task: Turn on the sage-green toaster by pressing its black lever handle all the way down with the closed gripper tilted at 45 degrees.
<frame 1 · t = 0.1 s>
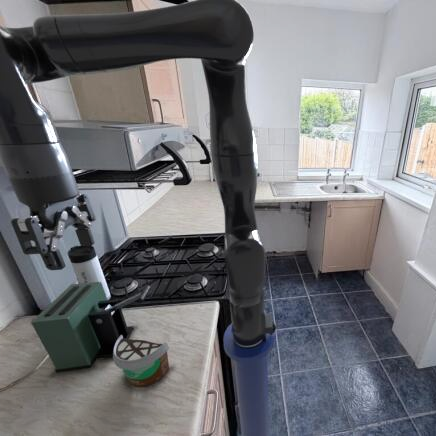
hand: (74, 256, 44), 33 cm above the table, tool pointing down, fingers open, 8 cm apart
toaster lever: (123, 303, 60), point 13 cm above the table, hinge at 25.0°
food container: (143, 379, 55), on the table
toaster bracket: (116, 342, 64), on the table
travel mug: (99, 300, 79), on the table
toaster body: (90, 346, 63), on the table
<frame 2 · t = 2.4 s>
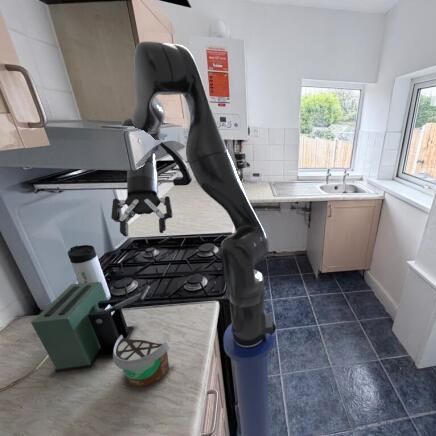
hand: (143, 234, 64), 28 cm above the table, tool tilted 40°, fingers open, 8 cm apart
nothing on the table moved.
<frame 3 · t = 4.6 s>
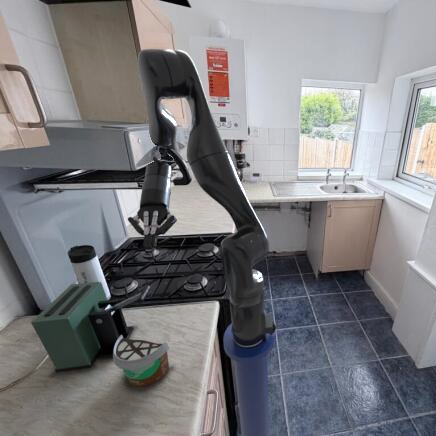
hand: (149, 248, 64), 24 cm above the table, tool tilted 45°, fingers closed
nothing on the table moved.
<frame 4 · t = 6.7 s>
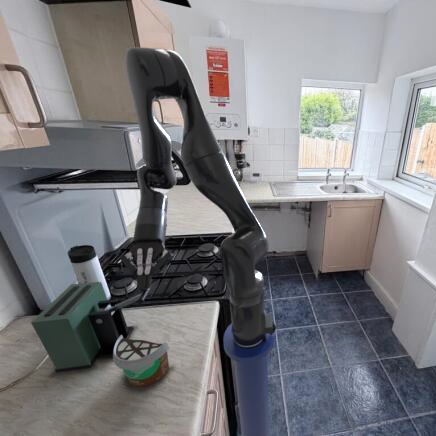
hand: (143, 290, 59), 17 cm above the table, tool tilted 45°, fingers closed
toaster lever: (123, 303, 60), point 13 cm above the table, hinge at 23.8°, touching gripper
everything else where it was.
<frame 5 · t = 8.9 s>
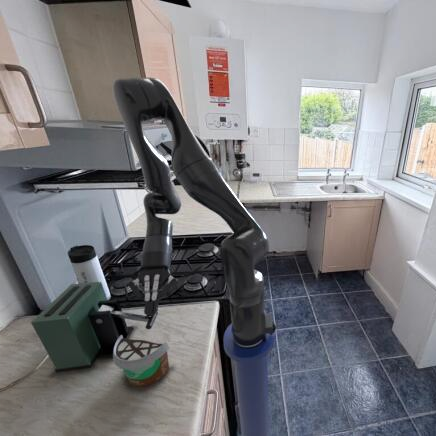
hand: (150, 315, 63), 8 cm above the table, tool tilted 45°, fingers closed
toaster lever: (127, 315, 61), point 9 cm above the table, hinge at -22.6°, touching gripper
everything else where it was.
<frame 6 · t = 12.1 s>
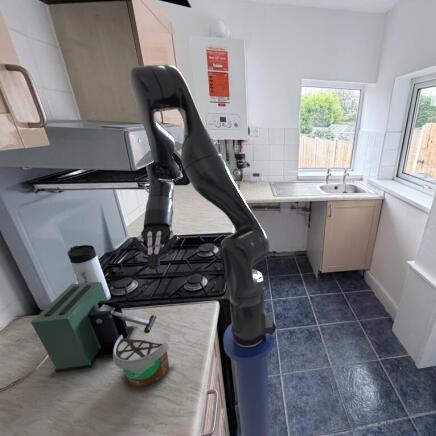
hand: (153, 268, 67), 18 cm above the table, tool tilted 45°, fingers closed
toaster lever: (127, 317, 62), point 8 cm above the table, hinge at -30.5°
everything else where it was.
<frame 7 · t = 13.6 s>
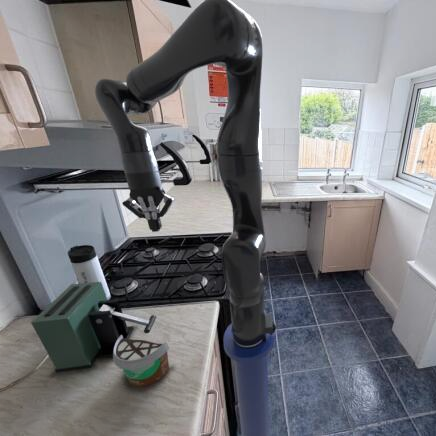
hand: (156, 230, 66), 28 cm above the table, tool pointing down, fingers closed
nothing on the table moved.
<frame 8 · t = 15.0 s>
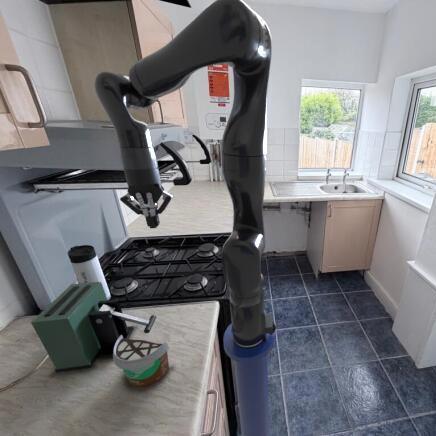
hand: (154, 227, 66), 29 cm above the table, tool pointing down, fingers closed
nothing on the table moved.
at the end: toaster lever at -30° (first picture: +25°); travel mug moved 0.2 cm from its start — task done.
